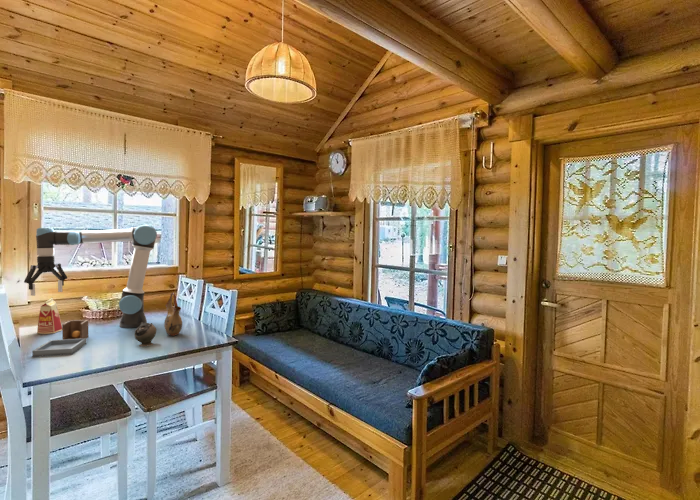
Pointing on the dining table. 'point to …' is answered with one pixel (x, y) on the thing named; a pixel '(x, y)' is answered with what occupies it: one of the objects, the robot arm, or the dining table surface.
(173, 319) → the ceramic vessel
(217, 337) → the dining table surface
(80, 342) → the tray
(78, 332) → the ball
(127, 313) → the robot arm
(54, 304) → the milk carton
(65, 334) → the brown open box
